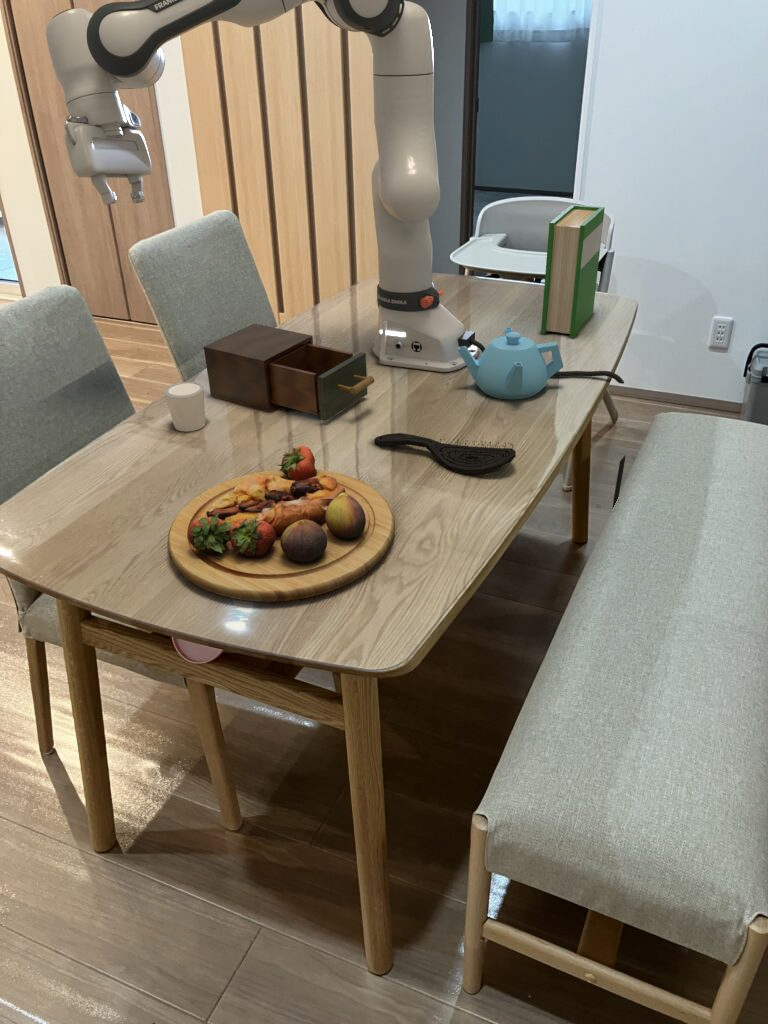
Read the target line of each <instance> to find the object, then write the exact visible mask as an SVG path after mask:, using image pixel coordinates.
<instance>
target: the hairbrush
mask: <svg viewBox="0 0 768 1024" xmlns="http://www.w3.org/2000/svg"><path fill="white" fill-rule="evenodd" d="M443 440H444V441H445V440H446V439H445V438H443ZM454 440H455V438H453V441H454ZM459 440H460V439H459V438H458V439H457V440H456V444H454V443H452V441H450V442H447V443H445V442H441V441H442V439H441V438H440V439H439V441H438V440H434V439H432V438H429V437H424V436H419V435H416V434H409V433H402V432H396V433H395V432H394V433H386V434H382V435H379V436H376V437H374V438H373V441H374V444H375V445H377V446H380V447H382V446H383V447H385V446H415V447H419V448H426V449H427V450H428V451H429V452H430V453H431V454H432V455H433V456H434V458H435V459H436V460H437V461H438V462H439V463H440V464H441V465H442V466H443V467H445V468H446V469H448V470H450V471H452V472H453V473H458V474H462V475H483V474H486V473H488V472H489V473H490V472H493V471H497V470H500V469H501V468H503V467H505V466H507V465H508V464H510V463H511V462H512V461H513V460H514V459H515V458H516V457H517V455H516V454H517V450H515V449H514V448H513V447H514V443H509V445H510V446H509V445H508V447H507V442H506V441H505V442H504V446H503V447H501V445H498V446H496V447H495V446H492V444H491V443H492V442H491V441H489V444H487V447H486V446H485V444H486V443H487V441H485V442H484V441H480V443H482V444H481V446H480V443H478V441H475V440H474V441H473V446H471V445H470V446H469V445H467V443H468V442H469V440H466V443H464V442H460V443H459ZM475 442H476V444H475ZM477 443H478V445H477ZM499 443H500V442H497V444H499ZM463 444H464V445H463ZM476 445H477V446H476Z"/></svg>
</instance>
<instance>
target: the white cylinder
mask: <svg viewBox="0 0 768 1024" xmlns="http://www.w3.org/2000/svg"><path fill="white" fill-rule="evenodd" d="M164 396H165V398H166V401H167V407H168V409H169V413H170V416H171V419H172V424H173V427H174V429H176V430H177V431H179V432H195V431H199V430H201V429H203V428H204V427H205V426H206V423H207V419H206V405H205V404H206V403H205V386H204V385H203V384H202V383H200V382H196V381H182V382H177V383H174V384H171V385H169V386H167V387H166V388H165V389H164Z"/></svg>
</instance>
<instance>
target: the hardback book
mask: <svg viewBox="0 0 768 1024" xmlns="http://www.w3.org/2000/svg"><path fill="white" fill-rule="evenodd" d="M604 217H605V206H593V205H578V204H570V206H568V207H567V208H565V209H564V210H563V211H562V212H561V213H559V214H558V215H557V216H556V217H555V218H553V219H552V220H551V221H550V222H549V224H548V234H547V235H548V236H547V248H546V262H545V273H544V285H543V286H544V289H543V301H542V313H541V326H540V335H546V334H547V333H548V332H552V333H553V332H554V333H561V334H569V339H574V338H576V336H577V335H578V333H579V332H580V331H581V330H582V329H583V327H584V326H585V325H586V323H587V322H588V321H589V320H590V318H591V317H592V315H593V314H594V307H595V298H596V290H597V282H598V281H597V280H598V272H599V271H598V270H599V263H600V255H601V254H600V253H601V245H602V235H603V227H604Z"/></svg>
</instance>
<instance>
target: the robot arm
mask: <svg viewBox="0 0 768 1024" xmlns="http://www.w3.org/2000/svg"><path fill="white" fill-rule="evenodd" d="M309 2H314V3H315V6H317V7H318V8H319V10H320V11H321V12H322V14H323V15H324V17H325V18H326V19H327V21H329V22H330V23H331V24H333V25H334V26H335V27H337V28H340V29H343V30H345V31H348V32H352V33H360V32H362V33H363V34H364V35H366V37H367V38H368V41H369V43H370V46H371V52H372V84H373V85H372V86H373V87H372V88H373V121H374V122H373V123H374V127H375V128H374V129H375V135H376V143H377V152H378V153H377V154H378V159H377V160H376V162H375V164H374V165H373V168H372V171H371V192H372V193H371V195H372V204H373V216H374V227H375V228H374V229H375V234H376V235H375V236H376V243H377V265H378V270H377V271H378V284H377V285H376V303H377V308H378V320H377V329H376V336H375V341H374V345H373V348H372V351H373V354H374V355H375V356H376V357H377V358H378V361H379V362H378V363H379V364H381V365H384V366H385V365H386V366H391V367H392V366H393V367H399V368H400V367H401V368H409V369H416V370H423V371H432V372H440V373H449V372H450V373H451V372H454V371H457V370H460V369H462V368H464V367H467V365H466V364H465V362H464V360H463V358H462V356H461V354H460V352H459V350H458V347H462V346H466V347H467V349H468V350H469V352H470V353H471V354H472V356H473V357H474V358H475V359H476V358H477V357H478V355H479V350H480V351H481V354H482V353H483V352H484V350H485V349H486V347H485V346H484V345H483V344H482V343H481V342H479V341H477V340H476V331H472V330H466V327H465V325H464V323H462V322H461V321H460V320H459V319H458V318H457V317H456V316H454V315H453V314H452V313H451V312H450V311H449V310H448V309H447V308H446V307H444V305H442V304H441V300H440V297H442V296H444V293H443V292H444V291H445V289H440V290H439V291H438V290H437V288H436V286H435V284H434V283H433V248H434V247H433V241H432V235H431V230H430V218H431V217H432V216H433V215H434V214H435V212H436V211H437V209H438V208H439V205H440V200H441V187H440V181H439V180H440V179H439V178H440V177H439V164H438V151H437V150H438V149H437V142H436V141H437V140H436V133H435V120H434V119H435V117H434V111H435V109H434V106H435V105H434V104H435V101H434V98H435V97H434V96H435V95H434V89H435V87H434V86H435V79H434V78H435V63H434V62H435V59H434V47H433V45H434V44H433V36H432V29H431V23H430V18H429V15H428V13H427V11H426V10H425V8H424V7H422V6H421V5H419V4H418V3H416V2H413V1H410V0H409V1H408V0H134V1H114V2H113V1H112V2H110V3H105V4H103V5H102V6H100V7H98V8H97V9H96V10H95V11H94V12H91V11H88V10H87V9H85V8H83V7H75V8H68V9H65V10H63V11H60V12H59V13H57V14H56V15H54V16H53V17H52V18H51V20H50V21H49V22H48V24H47V25H46V30H45V31H46V32H45V35H46V36H45V37H46V42H47V47H48V51H49V52H48V53H49V56H50V59H51V63H52V66H53V69H54V72H55V76H56V79H57V80H58V82H59V84H60V85H61V88H62V89H63V92H64V100H65V101H64V102H65V105H66V109H67V113H68V116H67V117H66V119H65V122H64V123H63V125H64V130H65V133H64V141H65V145H66V146H65V147H66V150H67V151H66V152H67V154H68V158H69V161H70V165H71V168H72V171H73V172H74V173H75V175H76V176H77V177H78V178H90V179H91V180H90V181H91V183H92V185H93V186H94V189H96V190H97V192H98V193H99V195H100V197H101V199H102V202H103V204H104V205H107V206H108V205H113V204H116V203H117V202H118V201H117V196H116V193H115V191H112V189H111V188H110V186H109V184H108V179H113V178H115V179H127V180H128V183H129V185H131V193H130V194H129V195H130V198H131V200H132V203H133V204H142V203H143V202H146V197H145V194H144V192H143V191H144V179H143V177H145V176H148V175H150V174H152V168H153V167H152V161H151V157H150V153H149V150H148V146H147V143H146V141H145V137H144V135H143V133H142V131H140V129H141V128H142V121H141V119H140V117H139V115H137V114H136V113H135V112H133V111H132V110H130V109H129V108H128V107H127V106H126V104H125V103H123V102H121V99H120V96H119V93H118V90H136V89H145V88H150V87H151V86H153V85H155V84H156V83H158V82H159V80H160V79H161V77H162V76H163V73H164V70H165V66H166V57H165V53H164V52H165V51H164V50H163V46H164V45H165V44H166V43H168V42H170V41H172V40H175V39H176V38H178V37H180V36H182V35H184V34H186V33H188V32H190V31H192V30H194V29H196V28H198V27H200V26H203V25H205V24H209V23H211V22H219V21H220V22H227V23H232V24H235V25H238V26H240V27H243V28H254V27H257V26H260V25H264V24H266V23H269V22H272V21H273V20H276V19H277V18H280V17H281V16H283V15H285V14H287V13H288V12H290V11H292V10H293V9H294V8H297V7H300V6H301V5H303V4H306V3H309ZM478 349H479V350H478ZM552 377H560V378H561V377H562V378H563V377H608V378H612V379H613V380H615V381H616V382H617V383H618V384H625V381H624V379H623V378H622V377H621V376H620V375H618V374H617V373H615V372H613V371H609V370H593V371H587V370H586V371H585V370H566V371H565V370H564V371H558V372H556V373H555V374H554V375H553V376H552ZM626 455H627V454H624V456H623V457H622V458H621V460H620V461H619V464H618V470H617V476H616V482H615V483H616V484H615V487H614V495H613V500H612V501H613V502H612V509H613V507H614V505H615V503H616V501H617V499H618V497H619V498H620V492H621V487H622V480H623V475H624V468H625V461H626ZM618 500H619V499H618ZM612 509H611V510H612Z"/></svg>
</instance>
